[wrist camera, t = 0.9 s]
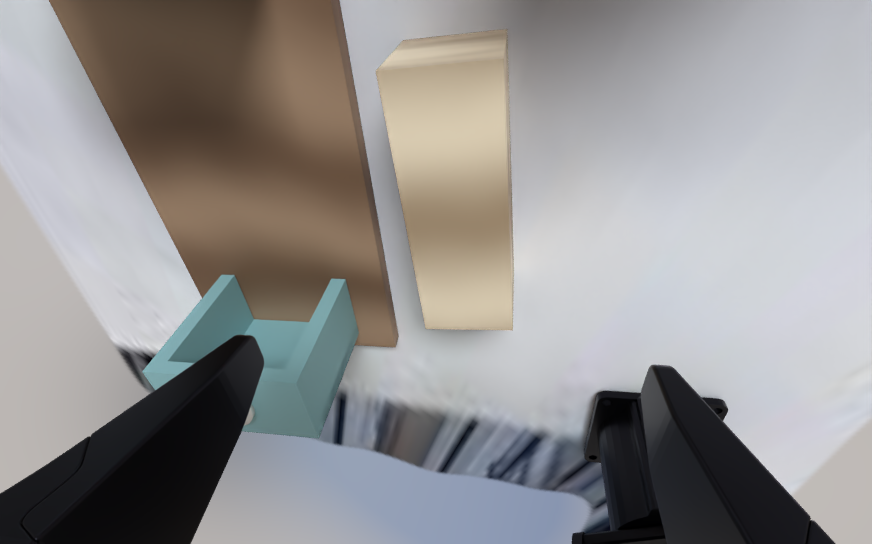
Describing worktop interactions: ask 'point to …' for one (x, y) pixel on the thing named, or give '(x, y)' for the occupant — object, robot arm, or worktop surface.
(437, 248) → the wooden block
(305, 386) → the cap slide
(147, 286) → the worktop surface
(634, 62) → the worktop surface
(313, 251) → the board
